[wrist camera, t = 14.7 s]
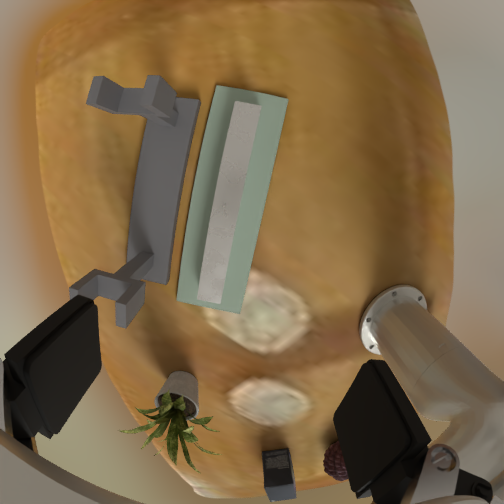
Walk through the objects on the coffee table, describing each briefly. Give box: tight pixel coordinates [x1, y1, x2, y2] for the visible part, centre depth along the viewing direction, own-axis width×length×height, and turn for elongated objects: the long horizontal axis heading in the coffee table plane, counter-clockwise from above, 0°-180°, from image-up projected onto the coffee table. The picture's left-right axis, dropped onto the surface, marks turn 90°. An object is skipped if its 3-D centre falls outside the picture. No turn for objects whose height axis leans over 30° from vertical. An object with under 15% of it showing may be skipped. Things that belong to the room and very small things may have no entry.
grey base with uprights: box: [69, 75, 201, 328], centre depth 26 cm, size 6×24×16 cm, turn 168°
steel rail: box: [197, 101, 262, 304], centre depth 32 cm, size 3×24×3 cm, turn 168°
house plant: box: [121, 371, 221, 474], centre depth 34 cm, size 14×14×16 cm
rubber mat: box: [177, 85, 288, 314], centre depth 33 cm, size 9×29×1 cm, turn 168°
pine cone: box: [323, 440, 349, 481], centre depth 44 cm, size 18×10×10 cm, turn 179°
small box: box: [262, 448, 296, 502], centre depth 45 cm, size 11×6×10 cm, turn 10°
